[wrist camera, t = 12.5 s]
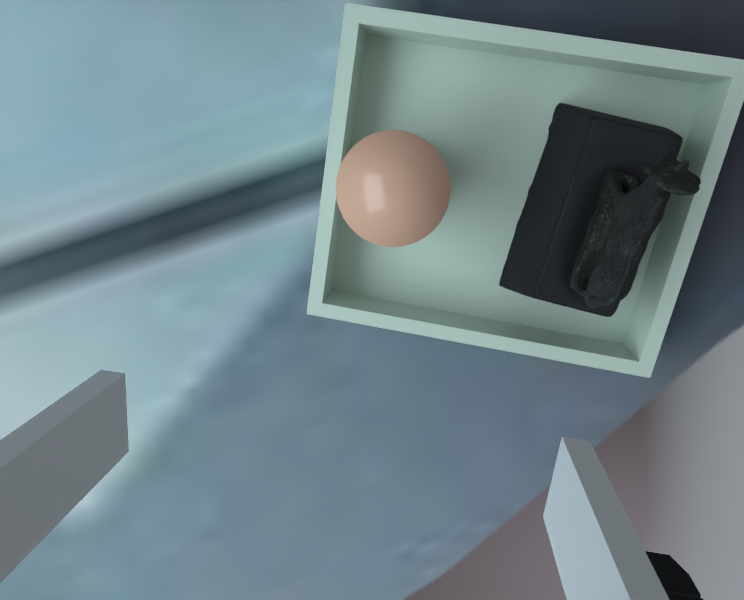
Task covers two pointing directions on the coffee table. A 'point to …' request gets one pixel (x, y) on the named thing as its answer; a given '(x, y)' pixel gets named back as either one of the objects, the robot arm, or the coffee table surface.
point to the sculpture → (593, 208)
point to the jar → (393, 188)
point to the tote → (508, 177)
